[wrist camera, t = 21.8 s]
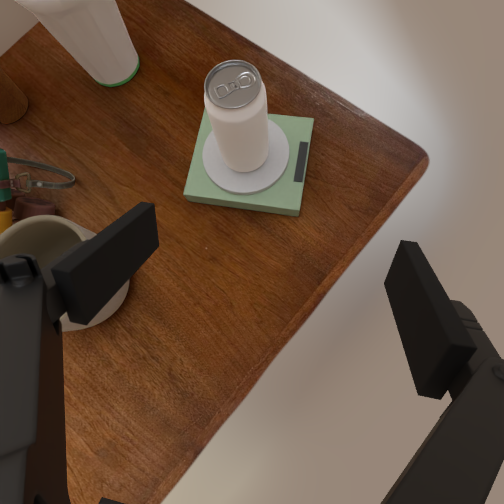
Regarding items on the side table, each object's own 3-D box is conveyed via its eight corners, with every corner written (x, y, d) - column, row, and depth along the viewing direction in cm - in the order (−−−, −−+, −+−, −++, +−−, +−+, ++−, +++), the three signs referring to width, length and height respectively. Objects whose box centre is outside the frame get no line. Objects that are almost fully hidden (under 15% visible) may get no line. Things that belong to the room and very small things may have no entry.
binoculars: (19, 198, 49) (-105, 212, 35) (18, 108, 44) (-127, 83, 30) (91, 224, 47) (-11, 249, 33) (97, 132, 42) (-19, 116, 28)
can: (276, 161, 39) (277, 94, 28) (233, 181, 39) (214, 122, 28) (256, 124, 41) (249, 46, 29) (214, 143, 41) (190, 72, 29)
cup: (142, 27, 51) (87, -94, 36) (159, 83, 48) (106, -24, 33) (75, 50, 51) (-8, -62, 36) (86, 107, 48) (1, 11, 33)
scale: (311, 129, 44) (314, 114, 41) (298, 216, 41) (300, 208, 38) (208, 118, 46) (203, 103, 42) (188, 201, 43) (181, 191, 40)
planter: (85, 227, 43) (23, 196, 32) (156, 263, 41) (114, 243, 30) (37, 304, 41) (-47, 299, 30) (109, 347, 39) (46, 357, 28)
